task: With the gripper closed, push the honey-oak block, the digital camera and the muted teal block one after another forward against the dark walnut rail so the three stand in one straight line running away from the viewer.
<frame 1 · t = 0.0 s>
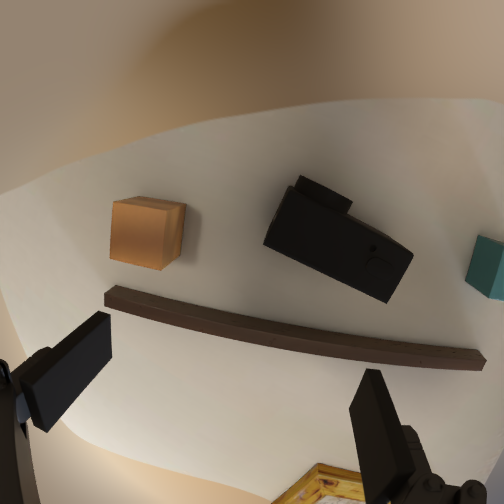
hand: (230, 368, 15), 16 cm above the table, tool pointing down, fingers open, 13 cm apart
teal block: (488, 262, 27), on the table
oak block: (158, 225, 30), on the table
digital camera: (333, 225, 28), on the table
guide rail: (311, 334, 31), on the table
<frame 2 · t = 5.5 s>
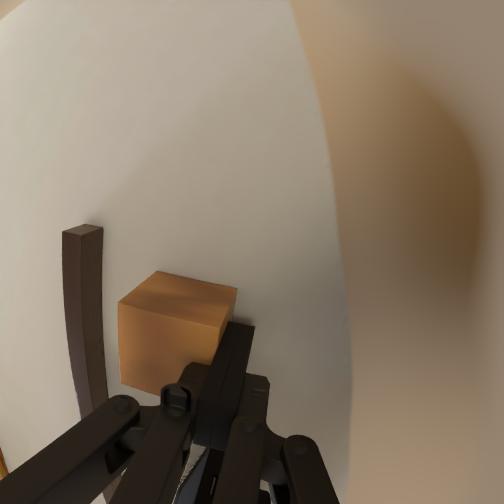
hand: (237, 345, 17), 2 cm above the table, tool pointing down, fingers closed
oak block: (191, 316, 19), on the table, touching gripper
digital camera: (222, 475, 23), on the table
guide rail: (109, 445, 24), on the table
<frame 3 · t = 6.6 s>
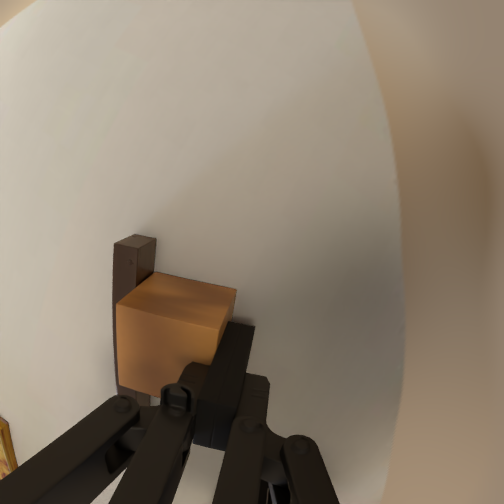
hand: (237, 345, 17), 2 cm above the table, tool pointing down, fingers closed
oak block: (190, 317, 19), on the table, touching gripper
digital camera: (264, 483, 23), on the table
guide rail: (144, 459, 24), on the table
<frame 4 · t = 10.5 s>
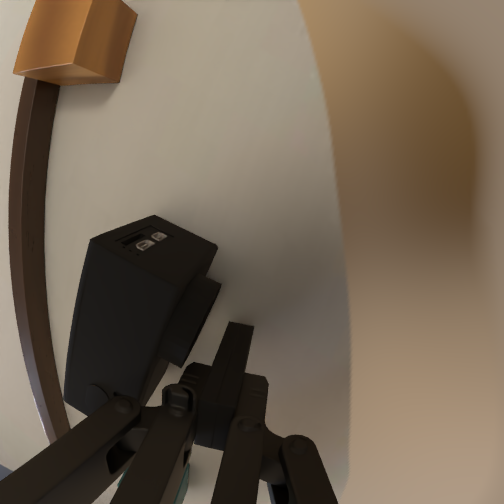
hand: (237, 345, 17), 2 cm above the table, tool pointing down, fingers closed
teal block: (163, 469, 24), on the table
oak block: (96, 49, 16), on the table
digital camera: (167, 305, 20), on the table, touching gripper
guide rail: (38, 276, 20), on the table
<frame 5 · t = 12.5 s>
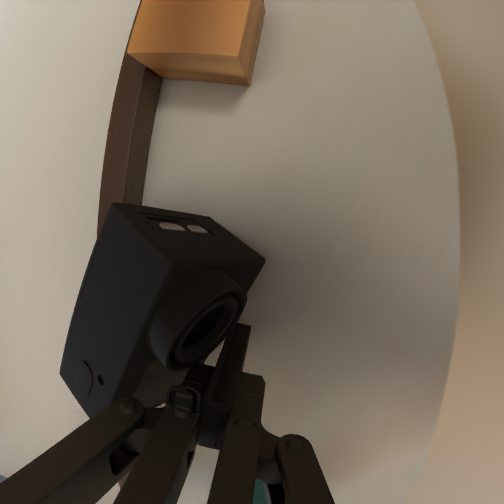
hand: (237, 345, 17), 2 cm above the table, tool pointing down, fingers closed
teal block: (246, 489, 24), on the table
oak block: (214, 42, 15), on the table
digital camera: (203, 319, 18), point 1 cm above the table, touching gripper, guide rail
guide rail: (124, 302, 20), on the table
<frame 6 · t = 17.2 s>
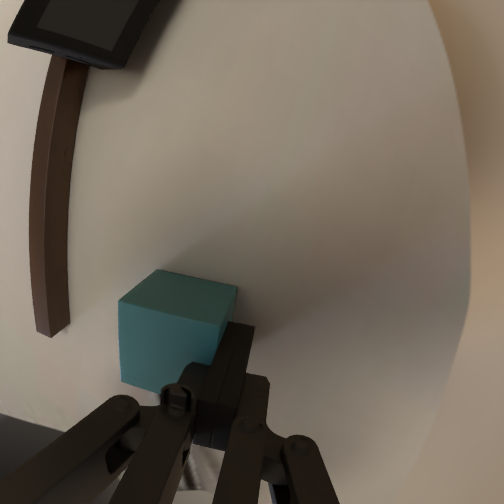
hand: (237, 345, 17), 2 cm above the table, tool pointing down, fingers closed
teal block: (191, 315, 19), on the table, touching gripper
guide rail: (91, 29, 15), on the table
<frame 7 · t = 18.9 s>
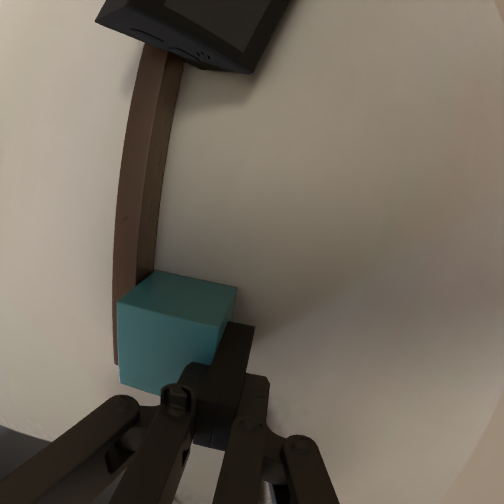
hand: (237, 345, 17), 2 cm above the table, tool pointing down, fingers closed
teal block: (190, 316, 19), on the table, touching gripper
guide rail: (182, 21, 15), on the table
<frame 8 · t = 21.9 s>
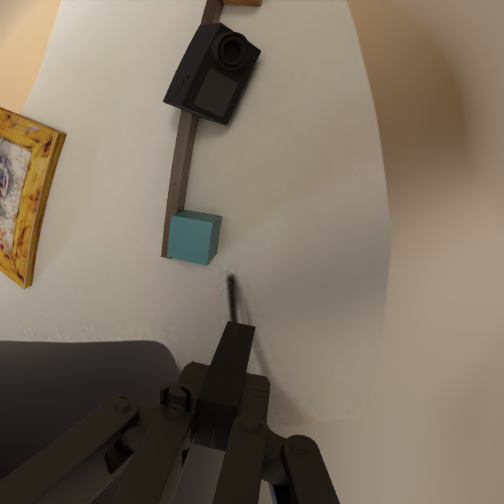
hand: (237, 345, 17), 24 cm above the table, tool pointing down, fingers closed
teal block: (200, 232, 41), on the table
digital camera: (237, 86, 35), point 1 cm above the table, touching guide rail
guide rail: (196, 94, 37), on the table
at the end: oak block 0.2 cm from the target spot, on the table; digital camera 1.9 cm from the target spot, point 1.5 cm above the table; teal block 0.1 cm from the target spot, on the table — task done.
